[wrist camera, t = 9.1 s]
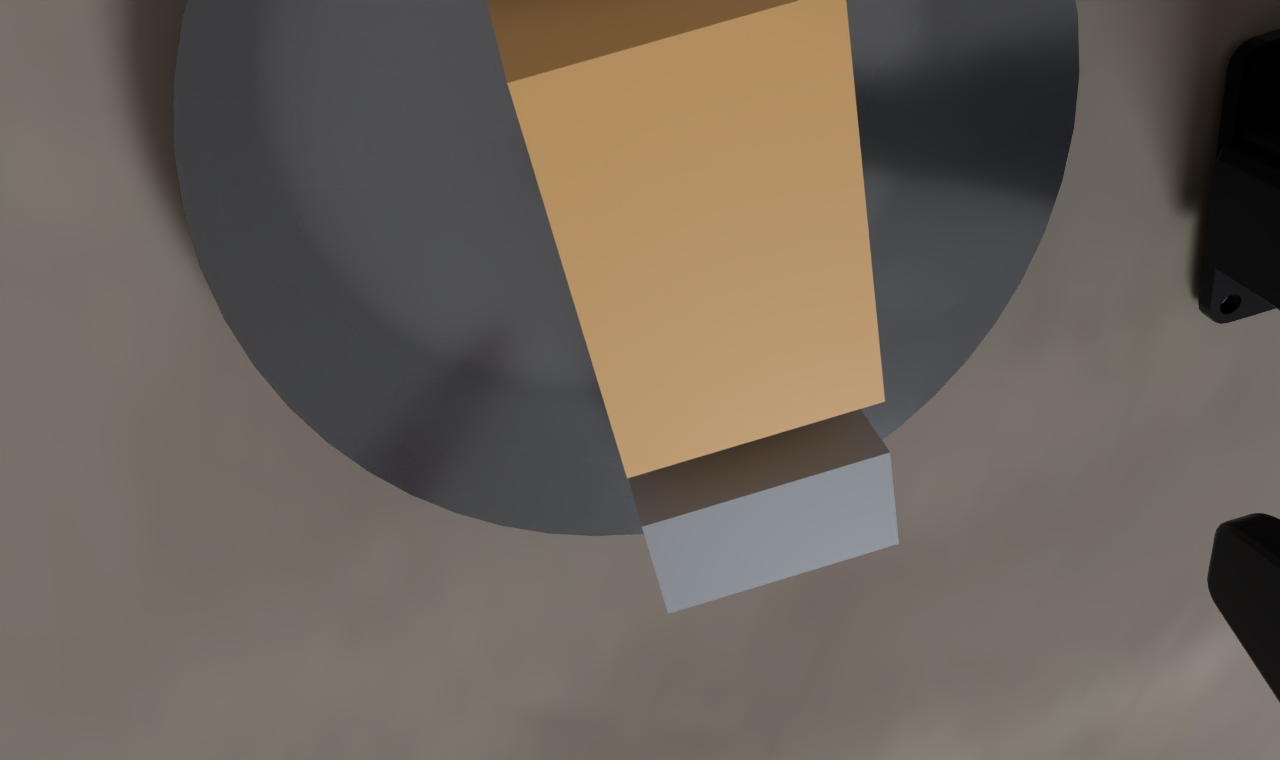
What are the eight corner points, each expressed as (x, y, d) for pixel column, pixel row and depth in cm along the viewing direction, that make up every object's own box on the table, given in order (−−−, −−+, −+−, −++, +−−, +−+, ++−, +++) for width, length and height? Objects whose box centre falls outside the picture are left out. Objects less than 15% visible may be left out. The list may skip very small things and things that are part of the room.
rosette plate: (1052, -486, 14) (1197, -543, 11) (1039, 387, 23) (1118, 467, 20) (-22, -195, 14) (-130, -184, 11) (390, 581, 23) (386, 690, 20)
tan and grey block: (730, -75, 15) (844, -14, 11) (801, 383, 20) (898, 544, 16) (485, -5, 15) (506, 83, 11) (617, 438, 20) (667, 614, 16)
